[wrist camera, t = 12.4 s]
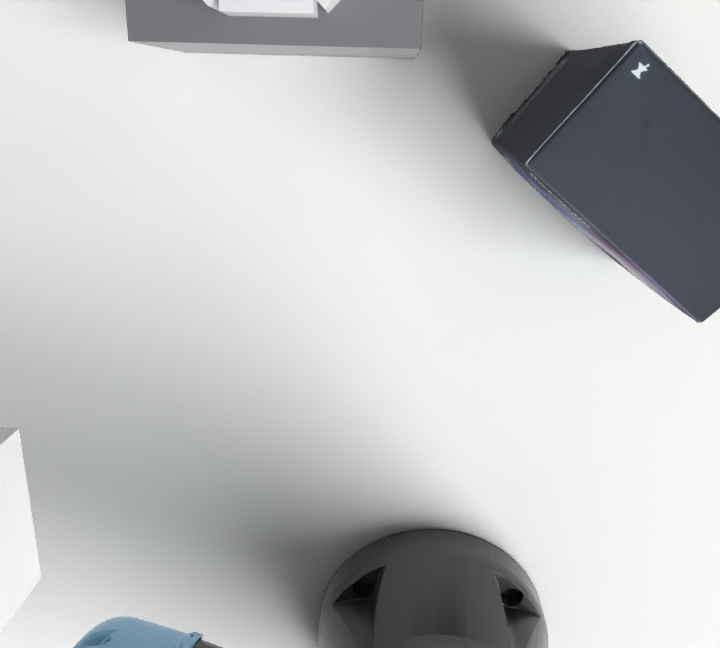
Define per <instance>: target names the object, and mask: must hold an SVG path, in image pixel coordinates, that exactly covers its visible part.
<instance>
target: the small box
mask: <svg viewBox="0 0 720 648" xmlns="http://www.w3.org/2000/svg"><path fill="white" fill-rule="evenodd" d="M491 142H492V144H493V146H494V147H495V148H496V149H497V150H498V151H499V152H500V154H501V155H502V156H503V157H504V158H505V159H506V160H507V161H508V162H509V163H510V164H511V166H512V167H513V168H514V169H515V170H516V171H517V172H518V173H519V174H520V175H521V176H522V177H524V178H525V179H526V180H527V181H528V182H529V183H530V184H531V185H532V186H533V187H534V188H535V189H536V190H537V191H538V192H539V193H540V194H541V195H542V196H543V197H545V198H546V199H547V200H548V201H549V202H550V203H551V204H552V205H553V206H554V207H555V208H556V209H557V210H558V211H559V212H560V213H561V214H562V215H564V216H565V217H566V218H567V219H568V220H569V221H570V222H571V223H572V224H573V225H574V226H576V227H577V228H578V229H579V230H580V231H581V232H582V233H583V234H585V235H586V236H587V237H588V238H589V239H590V240H591V241H592V242H594V243H595V244H596V245H597V246H598V247H599V248H601V249H602V250H603V251H604V252H605V253H606V254H608V255H609V256H610V257H611V258H612V259H614V260H615V261H616V262H617V263H619V264H620V265H621V266H622V267H624V268H625V269H626V270H627V271H629V272H630V273H631V274H632V275H633V276H635V277H636V278H637V279H639V280H640V281H641V282H642V283H644V284H645V285H646V286H648V287H649V288H650V289H652V290H653V291H654V292H656V293H657V294H658V295H660V296H661V297H662V298H664V299H665V300H667V301H668V302H669V303H671V304H672V305H674V306H675V307H676V308H678V309H679V310H681V311H682V312H684V313H685V314H686V315H688V316H689V317H691V318H692V319H694V320H695V321H696V322H698V323H701V322H703V321H704V320H706V319H707V318H708V317H709V316H711V315H712V314H713V313H714V312H716V311H717V310H718V309H719V308H720V117H719V116H718V115H717V114H715V113H714V112H713V111H712V110H711V109H710V108H709V107H708V106H707V105H706V104H705V103H704V101H703V100H702V99H701V98H700V97H699V96H698V95H697V94H695V93H694V92H693V91H692V90H691V89H690V87H689V86H688V85H687V84H686V83H685V82H684V81H683V80H682V79H681V78H680V77H679V76H678V75H677V74H676V73H674V71H673V70H672V69H671V68H669V67H668V66H667V64H666V63H665V62H663V61H662V60H661V59H660V57H658V56H657V55H656V54H655V53H654V52H653V51H652V50H651V49H650V48H649V47H648V46H647V44H646V43H644V42H643V41H642V40H638V41H631V42H629V43H625V44H624V43H623V44H617V45H612V46H604V47H600V48H593V49H587V50H572V51H566V53H565V55H564V56H562V57H561V58H560V60H559V61H558V63H557V65H556V67H555V68H554V69H553V70H552V71H550V72H549V73H548V75H547V77H546V78H544V80H543V81H542V83H540V85H539V86H538V87H537V88H536V89H535V91H534V92H533V93H532V94H531V95H530V96H529V97H528V99H526V100H525V101H524V102H523V104H522V105H521V106H520V107H519V108H518V110H517V111H516V112H514V113H512V114H511V116H510V117H509V118H508V119H507V121H506V122H505V123H504V124H503V126H502V127H501V129H500V130H499V132H498V133H497V134H496V135H495V136H494V137H493V139H492V141H491Z"/></svg>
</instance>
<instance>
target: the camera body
mask: <svg viewBox="0 0 720 648" xmlns="http://www.w3.org/2000/svg"><path fill="white" fill-rule="evenodd" d="M125 2H126V15H127V28H128V41H130V42H135V43H140V44H145V45H151V46H156V47H161V48H166V49H171V50H176V51H181V52H189V53H226V54H263V55H300V56H337V57H374V58H411V59H415V57H416V56H417V54H418V52H419V51H420V49H421V33H422V14H423V0H125Z"/></svg>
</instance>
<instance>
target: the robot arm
mask: <svg viewBox="0 0 720 648" xmlns="http://www.w3.org/2000/svg"><path fill="white" fill-rule="evenodd" d="M40 578H41V571H40V564H39V557H38V551H37V544H36V538H35V531H34V525H33V518H32V511H31V505H30V498H29V492H28V485H27V478H26V472H25V465H24V459H23V452H22V446H21V439H20V432H19V429H17V428H0V633H1V632H2V631H3V629H4V628H5V627H6V625H7V624H8V622H9V621H10V620H11V618H12V617H13V616H14V614H15V613H16V611H17V610H18V609H19V607H20V606H21V605H22V603H23V602H24V600H25V599H26V598H27V596H28V595H29V594H30V592H31V591H32V589H33V588H34V587H35V585H36V584H37V583H38V581H39V580H40ZM202 637H203V635H202V634H200V633H197V632H193V633H190V634H186V633H183V632H180V631H177V630H173V629H170V628H167V627H164V626H161V625H157V624H154V623H151V622H148V621H144V620H141V619H138V618H133V617H116V618H112V619H109V620H107V621H104V622H102V623H101V624H99V625H97V626H96V627H94V628H93V629H92V630H90V631H89V632H88V633H87V634H86V635H85V636H84V637H83V638H82V639H81V640H80V641H79V642H78V643H77V644H76V645H75V646H74V647H73V648H222V647H219V646H216V645H214V644H211V643H209V642H206V641H203V640H201V639H202ZM318 647H319V648H548V633H547V626H546V621H545V618H544V614H543V611H542V607H541V604H540V600H539V597H538V594H537V591H536V589H535V587H534V585H533V583H532V581H531V580H530V578H529V576H528V575H527V574H526V572H525V571H524V570H523V569H522V568H521V566H520V565H519V564H518V563H517V562H516V561H515V560H513V559H512V558H511V557H510V556H509V555H507V554H506V553H505V552H503V551H502V550H500V549H499V548H497V547H495V546H494V545H492V544H490V543H488V542H486V541H483V540H481V539H478V538H476V537H473V536H470V535H466V534H462V533H458V532H452V531H445V530H417V531H409V532H403V533H399V534H395V535H391V536H388V537H385V538H383V539H380V540H378V541H376V542H374V543H371V544H370V545H368V546H366V547H364V548H363V549H361V550H360V551H358V552H357V553H355V554H354V555H353V556H352V557H350V558H349V559H348V560H347V561H346V562H345V563H344V564H343V565H342V566H341V567H340V568H339V570H338V571H337V572H336V574H335V575H334V577H333V578H332V580H331V581H330V583H329V585H328V587H327V590H326V592H325V595H324V598H323V602H322V608H321V615H320V622H319V629H318Z"/></svg>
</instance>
